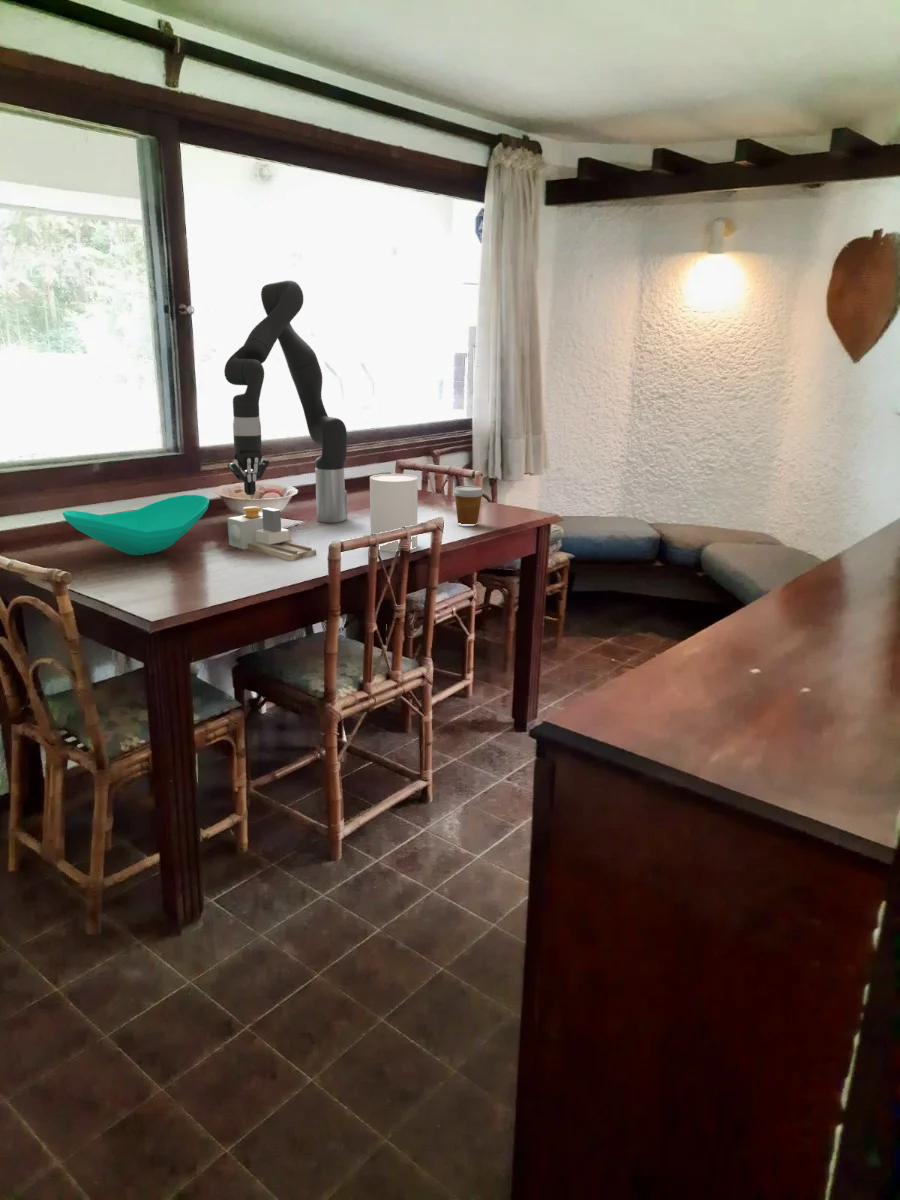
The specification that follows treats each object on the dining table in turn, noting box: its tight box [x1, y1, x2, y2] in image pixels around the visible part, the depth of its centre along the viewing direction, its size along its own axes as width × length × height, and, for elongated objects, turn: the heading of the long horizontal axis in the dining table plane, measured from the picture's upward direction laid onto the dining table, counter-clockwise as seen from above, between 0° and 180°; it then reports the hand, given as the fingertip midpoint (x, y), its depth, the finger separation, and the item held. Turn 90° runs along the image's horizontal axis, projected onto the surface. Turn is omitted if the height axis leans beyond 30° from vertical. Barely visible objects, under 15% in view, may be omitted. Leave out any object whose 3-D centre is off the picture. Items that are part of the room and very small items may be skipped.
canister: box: [369, 473, 419, 553], centre depth 239 cm, size 14×14×20 cm
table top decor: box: [62, 494, 210, 556], centre depth 229 cm, size 40×28×13 cm
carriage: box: [256, 507, 290, 545], centre depth 234 cm, size 7×6×9 cm
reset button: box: [242, 506, 262, 519], centre depth 239 cm, size 5×5×4 cm
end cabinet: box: [226, 511, 263, 550], centre depth 240 cm, size 12×7×8 cm, turn 139°
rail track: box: [247, 539, 317, 562], centre depth 233 cm, size 9×19×2 cm, turn 49°
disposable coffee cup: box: [453, 485, 484, 524], centre depth 269 cm, size 10×10×12 cm
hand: (250, 494), depth 237 cm, fingers closed
